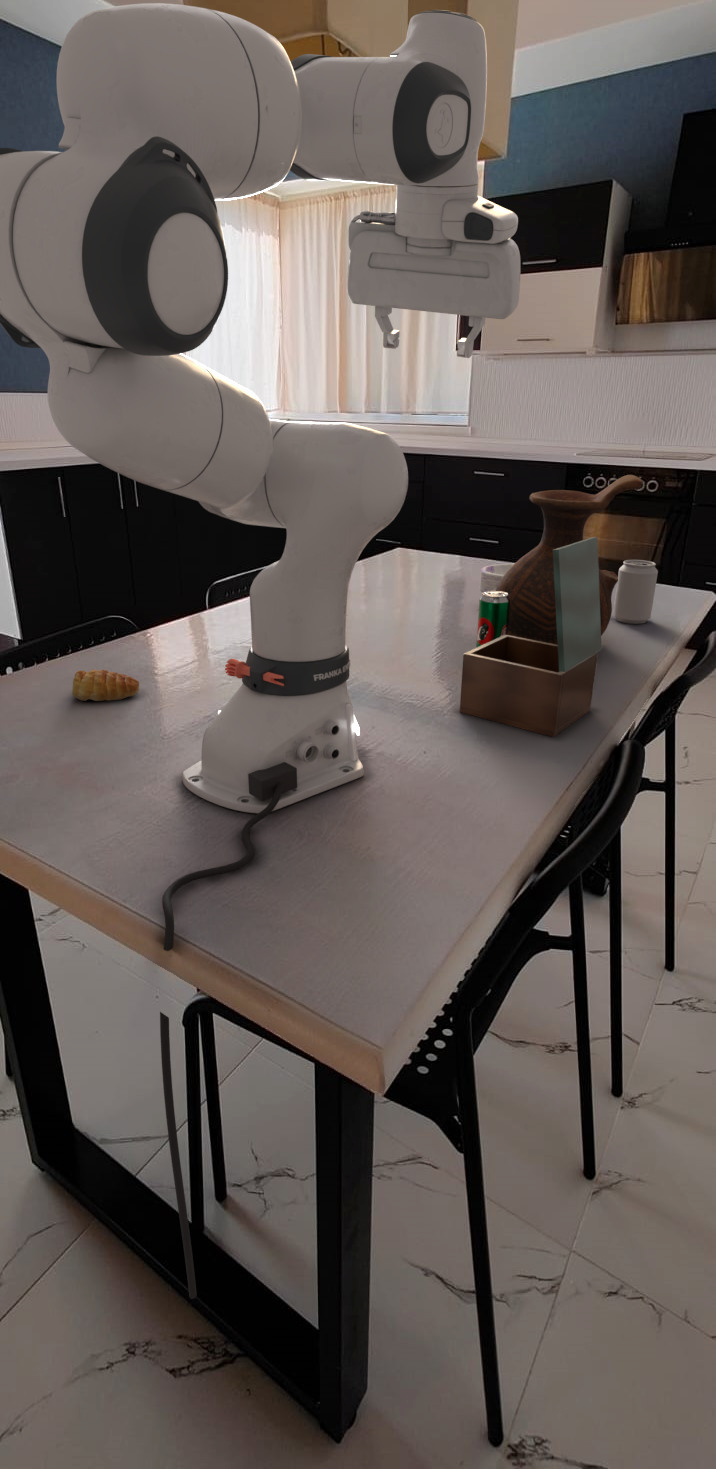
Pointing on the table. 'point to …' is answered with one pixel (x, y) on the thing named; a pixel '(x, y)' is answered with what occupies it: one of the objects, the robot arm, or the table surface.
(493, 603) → the soda can
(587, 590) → the lid
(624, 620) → the can
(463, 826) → the table surface
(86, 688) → the pastry
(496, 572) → the paper bowls
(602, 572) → the jug
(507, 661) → the chest
